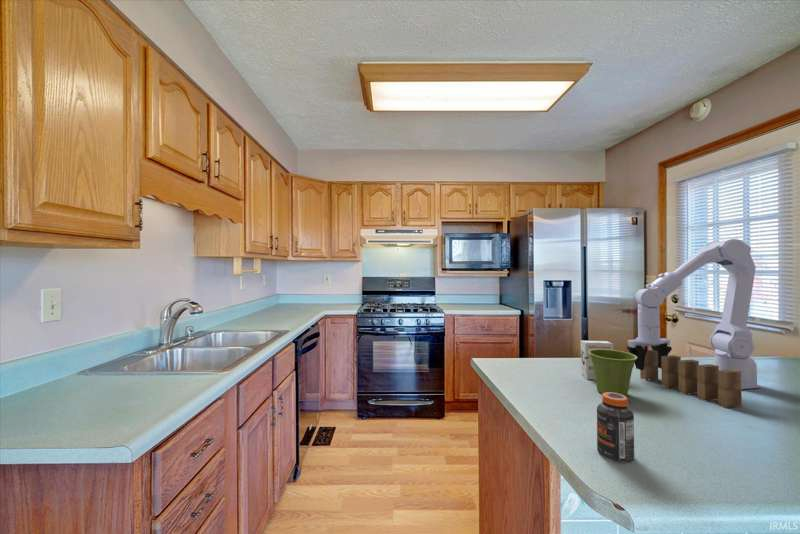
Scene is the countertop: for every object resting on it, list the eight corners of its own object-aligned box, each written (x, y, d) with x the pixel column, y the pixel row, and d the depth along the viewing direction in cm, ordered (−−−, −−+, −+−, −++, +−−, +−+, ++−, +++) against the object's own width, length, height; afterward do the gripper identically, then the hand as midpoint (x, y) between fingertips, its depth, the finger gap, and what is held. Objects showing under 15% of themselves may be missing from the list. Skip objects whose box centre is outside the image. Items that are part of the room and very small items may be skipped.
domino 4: (711, 396, 92) (711, 364, 92) (719, 399, 90) (718, 365, 90) (697, 398, 91) (696, 365, 91) (704, 400, 89) (704, 367, 89)
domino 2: (675, 384, 102) (674, 355, 102) (681, 386, 100) (680, 356, 100) (661, 386, 101) (661, 356, 101) (667, 388, 99) (667, 357, 99)
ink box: (608, 376, 111) (608, 340, 111) (615, 380, 106) (614, 343, 106) (580, 374, 112) (580, 339, 112) (586, 379, 107) (585, 342, 108)
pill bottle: (590, 447, 66) (589, 390, 66) (618, 446, 66) (617, 389, 66) (611, 465, 60) (611, 401, 60) (642, 463, 60) (641, 400, 60)
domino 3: (692, 390, 97) (691, 359, 97) (699, 392, 95) (698, 361, 95) (678, 391, 96) (678, 360, 96) (685, 394, 94) (684, 362, 94)
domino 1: (653, 377, 109) (652, 350, 109) (658, 379, 107) (658, 351, 107) (640, 378, 108) (640, 350, 108) (645, 380, 106) (645, 352, 106)
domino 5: (733, 403, 87) (732, 369, 87) (741, 406, 85) (741, 371, 86) (718, 405, 86) (717, 370, 86) (726, 408, 84) (725, 372, 84)
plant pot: (592, 398, 92) (591, 356, 92) (585, 384, 103) (585, 347, 103) (643, 404, 87) (643, 361, 87) (631, 389, 98) (631, 351, 98)
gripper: (655, 323, 113) (655, 363, 113) (619, 325, 110) (619, 366, 110) (676, 326, 106) (677, 369, 106) (638, 328, 103) (639, 372, 103)
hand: (649, 368), depth 107 cm, fingers open, 7 cm apart
